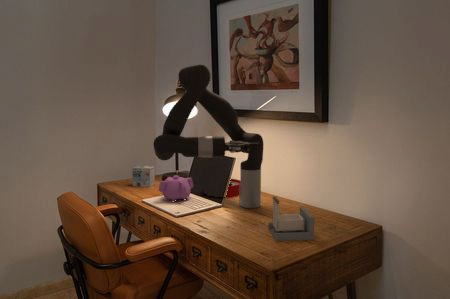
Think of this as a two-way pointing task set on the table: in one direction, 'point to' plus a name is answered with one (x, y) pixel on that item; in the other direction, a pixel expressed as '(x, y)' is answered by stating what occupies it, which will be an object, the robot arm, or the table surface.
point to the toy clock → (233, 188)
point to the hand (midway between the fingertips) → (259, 146)
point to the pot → (176, 187)
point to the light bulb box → (143, 176)
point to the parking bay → (295, 235)
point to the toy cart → (286, 220)
